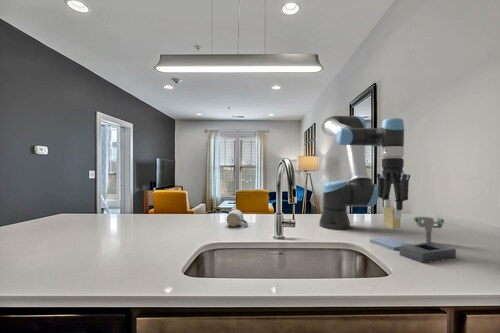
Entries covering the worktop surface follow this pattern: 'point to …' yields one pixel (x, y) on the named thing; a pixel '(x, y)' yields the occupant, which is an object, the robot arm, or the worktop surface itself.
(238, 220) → the ceramic mug
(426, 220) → the mechanical component
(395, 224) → the brass block
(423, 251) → the grey recessed block
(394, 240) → the blue mat
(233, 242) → the worktop surface
